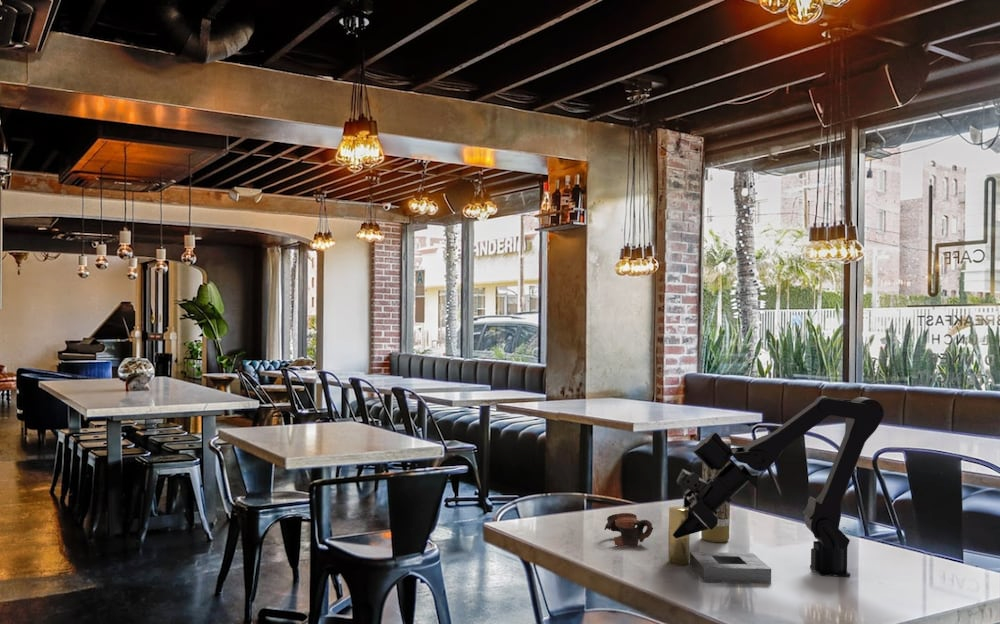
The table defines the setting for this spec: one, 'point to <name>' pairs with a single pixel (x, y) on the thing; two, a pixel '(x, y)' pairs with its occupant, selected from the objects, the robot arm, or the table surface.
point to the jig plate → (730, 567)
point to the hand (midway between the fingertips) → (672, 532)
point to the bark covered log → (722, 528)
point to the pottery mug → (628, 529)
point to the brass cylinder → (677, 546)
